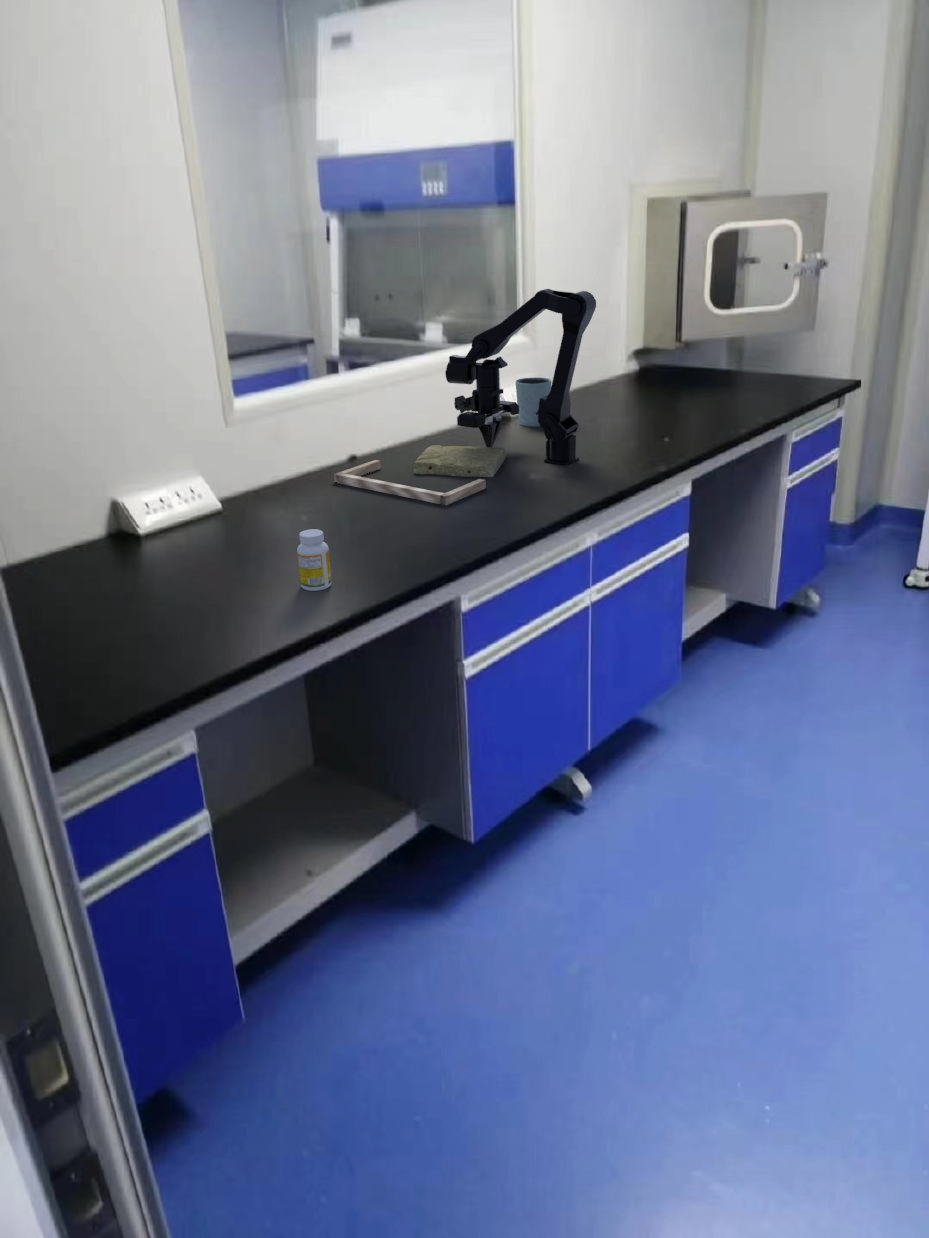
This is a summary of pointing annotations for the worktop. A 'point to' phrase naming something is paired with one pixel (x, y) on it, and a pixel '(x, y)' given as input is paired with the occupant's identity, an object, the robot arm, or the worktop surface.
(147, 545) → the worktop surface
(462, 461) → the decorative tile
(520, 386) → the light blue cup
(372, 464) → the frame
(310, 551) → the supplement bottle
